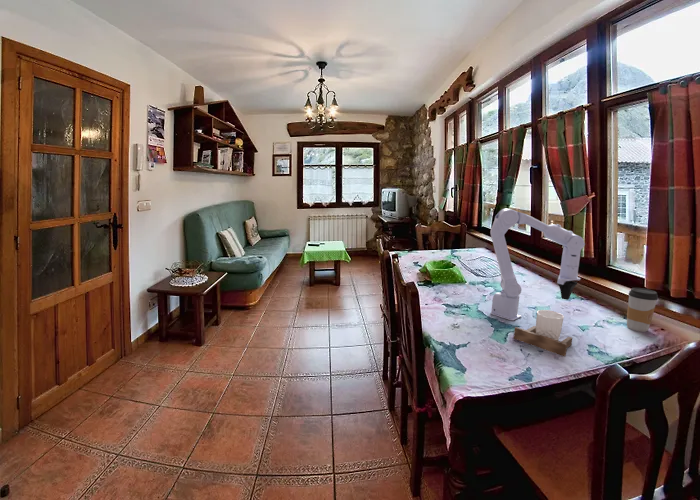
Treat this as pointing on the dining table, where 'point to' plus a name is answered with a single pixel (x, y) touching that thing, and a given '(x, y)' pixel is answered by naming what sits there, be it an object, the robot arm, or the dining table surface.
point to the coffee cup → (640, 308)
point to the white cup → (549, 324)
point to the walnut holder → (542, 341)
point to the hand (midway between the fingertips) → (565, 299)
